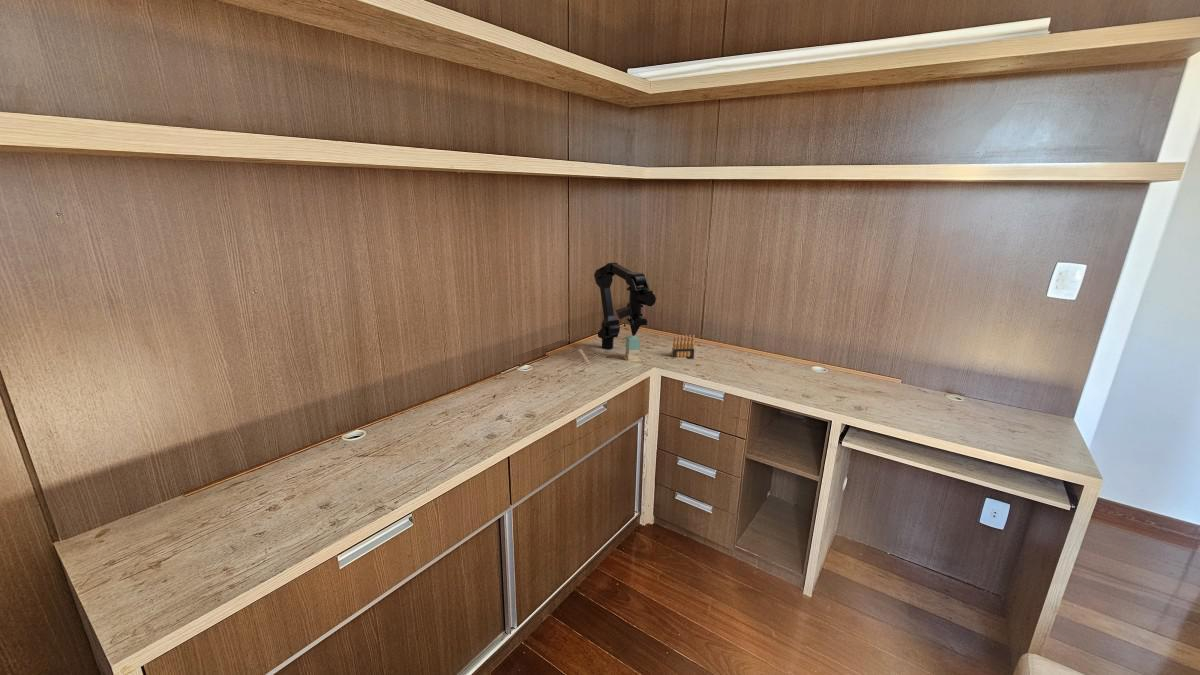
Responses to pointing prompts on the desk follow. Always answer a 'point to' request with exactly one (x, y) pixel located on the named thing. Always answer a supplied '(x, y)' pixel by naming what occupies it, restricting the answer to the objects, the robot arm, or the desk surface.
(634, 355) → the maple block
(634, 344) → the teal block
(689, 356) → the ammunition clip
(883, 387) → the desk surface
